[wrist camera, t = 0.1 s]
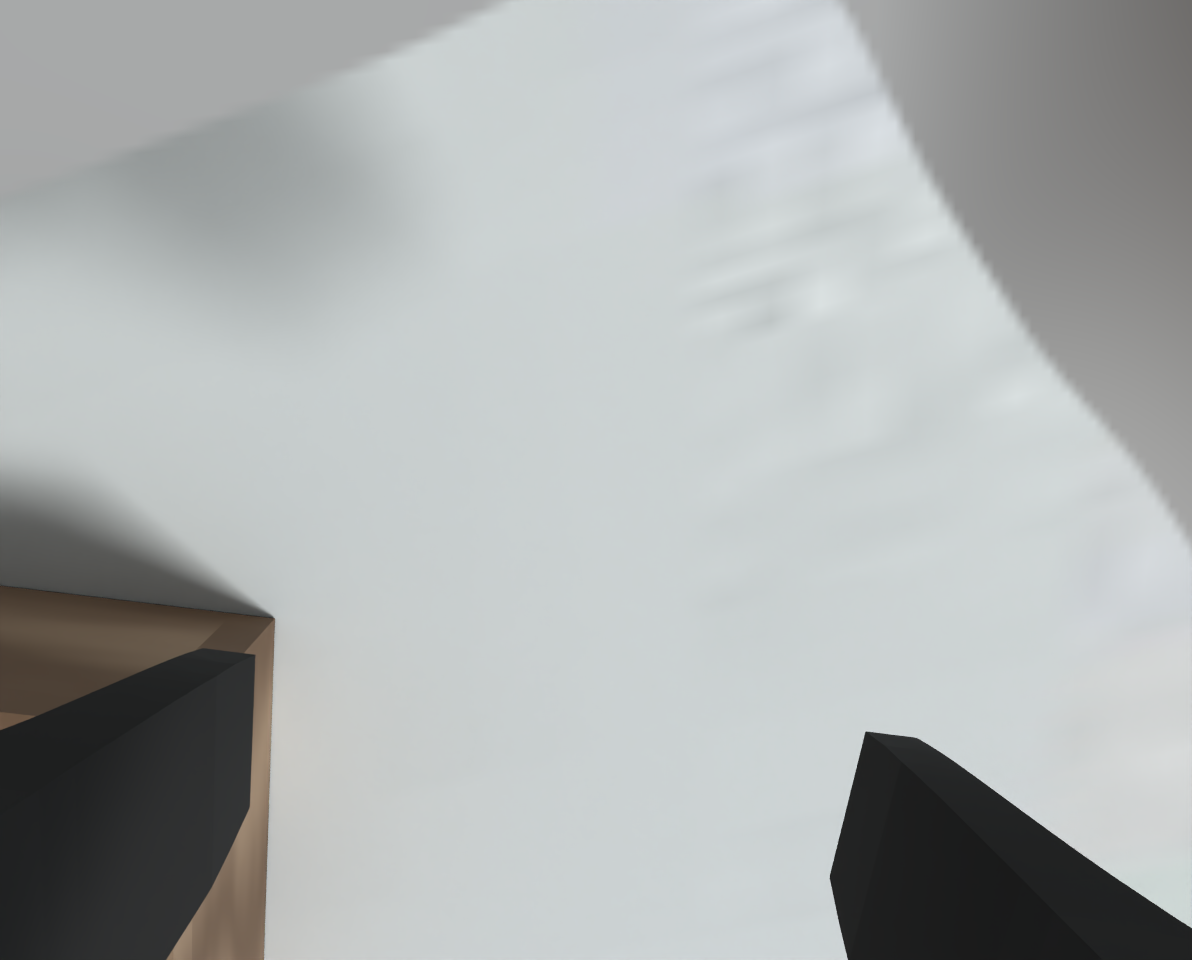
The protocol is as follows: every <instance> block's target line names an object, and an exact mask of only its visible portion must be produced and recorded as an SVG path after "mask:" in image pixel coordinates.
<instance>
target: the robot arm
mask: <svg viewBox="0 0 1192 960" xmlns="http://www.w3.org/2000/svg"><path fill="white" fill-rule="evenodd" d="M255 656H256V655H254V654H246V653H238V652H230V651H222V650H215V649H207V648H201V649H198V650H195V651H192V652H189V653H186V654H183V655H180V656H177V657H175V658H172V659H170V660H167V661H165V662H162V663H160V664H157V665H155V666H153V667H150V668H148V669H145V670H143V671H141V672H138V673H136V674H134V675H131V676H129V677H127V678H124V679H122V680H120V681H117V682H115V683H113V684H110V685H108V686H106V687H103V688H101V689H99V690H96V691H94V692H92V693H89V694H87V695H85V696H82V697H80V698H78V699H75V700H73V701H71V702H68V703H66V704H64V705H61V706H59V707H57V708H54V709H52V710H50V711H47V712H45V713H43V714H40V715H38V716H35V717H33V718H30V719H28V720H25V721H23V722H20V723H18V724H15V725H12V726H10V727H7V728H5V729H2V730H0V960H166V959H167V958H168V956H169V955H170V953H171V952H172V950H173V948H174V947H175V945H176V944H177V942H178V941H179V939H180V937H181V936H182V934H183V933H184V931H185V930H186V928H187V926H188V925H189V923H190V922H191V920H192V918H193V917H194V915H195V914H196V912H197V911H198V909H199V907H200V906H201V904H202V903H203V901H204V899H205V898H206V896H207V894H208V893H209V891H210V890H211V888H212V886H213V884H214V882H215V880H216V878H217V876H218V874H219V872H220V870H221V868H222V866H223V864H224V862H225V860H226V858H227V856H228V854H229V852H230V849H231V847H232V845H233V843H234V841H235V839H236V836H237V834H238V832H239V830H240V828H241V826H242V823H243V821H244V819H245V817H246V815H247V813H248V810H249V808H250V792H251V765H252V738H253V710H254V683H255ZM830 881H831V886H832V891H833V895H834V900H835V905H836V910H837V915H838V919H839V924H840V928H841V932H842V937H843V941H844V945H845V949H846V953H847V958H848V960H1192V928H1190V927H1189V926H1187V925H1186V924H1184V923H1183V922H1181V921H1179V920H1178V919H1176V918H1175V917H1173V916H1172V915H1170V914H1169V913H1167V912H1166V911H1164V910H1163V909H1161V908H1160V907H1158V906H1157V905H1155V904H1154V903H1152V902H1151V901H1149V900H1148V899H1146V898H1145V897H1143V896H1142V895H1140V894H1139V893H1137V892H1136V891H1134V890H1133V889H1131V888H1130V887H1128V886H1127V885H1125V884H1124V883H1122V882H1121V881H1119V880H1118V879H1116V878H1115V877H1113V876H1112V875H1110V874H1109V873H1108V872H1106V871H1105V870H1103V869H1102V868H1100V867H1099V866H1098V865H1096V864H1095V863H1093V862H1092V861H1090V860H1089V859H1088V858H1086V857H1085V856H1083V855H1082V854H1080V853H1079V852H1078V851H1076V850H1075V849H1073V848H1072V847H1071V846H1069V845H1068V844H1066V843H1065V842H1064V841H1062V840H1061V839H1060V838H1058V837H1057V836H1055V835H1054V834H1053V833H1051V832H1050V831H1048V830H1047V829H1046V828H1044V827H1043V826H1042V825H1040V824H1039V823H1037V822H1036V821H1035V820H1033V819H1032V818H1031V817H1029V816H1028V815H1027V814H1025V813H1024V812H1022V811H1021V810H1020V809H1018V808H1017V807H1016V806H1014V805H1013V804H1012V803H1010V802H1009V801H1008V800H1006V799H1005V798H1003V797H1002V796H1001V795H999V794H998V793H997V792H995V791H994V790H993V789H991V788H990V787H988V786H987V785H986V784H984V783H983V782H982V781H980V780H979V779H978V778H976V777H975V776H973V775H972V774H971V773H969V772H968V771H966V770H965V769H964V768H962V767H961V766H959V765H958V764H957V763H955V762H954V761H952V760H951V759H949V758H948V757H946V756H945V755H943V754H942V753H941V752H939V751H937V750H936V749H934V748H933V747H931V746H930V745H928V744H926V743H924V742H923V741H921V740H919V739H917V738H913V737H905V736H897V735H889V734H881V733H873V732H865V736H864V740H863V744H862V748H861V752H860V756H859V761H858V765H857V769H856V773H855V777H854V781H853V785H852V789H851V793H850V797H849V801H848V805H847V809H846V813H845V817H844V821H843V825H842V829H841V833H840V837H839V841H838V845H837V849H836V853H835V857H834V861H833V865H832V869H831V874H830Z"/></svg>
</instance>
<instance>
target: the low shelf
mask: <svg viewBox="0 0 1192 960" xmlns="http://www.w3.org/2000/svg"><path fill="white" fill-rule="evenodd" d="M274 628H275V619H274V618H266V617H257V616H249V615H241V614H232V613H224V612H215V611H207V610H199V609H190V608H182V607H174V606H165V605H157V604H148V603H140V602H132V601H123V600H115V599H107V598H98V597H90V596H81V595H73V594H65V593H56V592H48V591H40V590H31V589H23V588H14V587H6V586H0V730H2V729H5V728H7V727H10V726H12V725H15V724H18V723H20V722H23V721H25V720H28V719H30V718H33V717H35V716H38V715H40V714H43V713H45V712H47V711H50V710H52V709H54V708H57V707H59V706H61V705H64V704H66V703H68V702H71V701H73V700H75V699H78V698H80V697H82V696H85V695H87V694H89V693H92V692H94V691H96V690H99V689H101V688H103V687H106V686H108V685H110V684H113V683H115V682H117V681H120V680H122V679H124V678H127V677H129V676H131V675H134V674H136V673H138V672H141V671H143V670H145V669H148V668H150V667H153V666H155V665H157V664H160V663H162V662H165V661H167V660H170V659H172V658H175V657H177V656H180V655H183V654H186V653H189V652H192V651H195V650H198V649H201V648H207V649H215V650H222V651H230V652H238V653H246V654H254V655H256V656H255V683H254V710H253V738H252V765H251V792H250V808H249V810H248V813H247V815H246V817H245V819H244V821H243V823H242V826H241V828H240V830H239V832H238V834H237V836H236V839H235V841H234V843H233V845H232V847H231V849H230V852H229V854H228V856H227V858H226V860H225V862H224V864H223V866H222V868H221V870H220V872H219V874H218V876H217V878H216V880H215V882H214V884H213V886H212V888H211V890H210V891H209V893H208V894H207V896H206V898H205V899H204V901H203V903H202V904H201V906H200V907H199V909H198V911H197V912H196V914H195V915H194V917H193V918H192V920H191V922H190V923H189V925H188V926H187V928H186V930H185V931H184V933H183V934H182V936H181V937H180V939H179V941H178V942H177V944H176V945H175V947H174V948H173V950H172V952H171V953H170V955H169V956H168V958H167V959H166V960H264V937H265V906H266V875H267V844H268V813H269V782H270V751H271V721H272V690H273V659H274Z"/></svg>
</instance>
